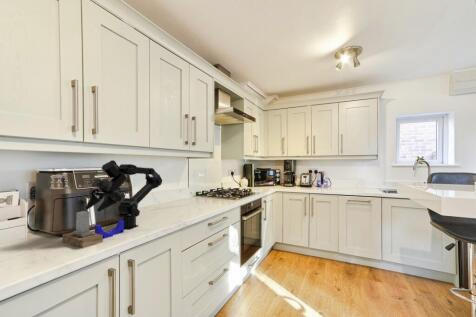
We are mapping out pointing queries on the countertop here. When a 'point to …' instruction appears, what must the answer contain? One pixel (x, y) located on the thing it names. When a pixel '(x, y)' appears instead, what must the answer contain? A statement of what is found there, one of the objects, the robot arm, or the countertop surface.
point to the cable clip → (116, 230)
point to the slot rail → (82, 240)
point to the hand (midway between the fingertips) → (91, 209)
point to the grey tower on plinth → (82, 225)
